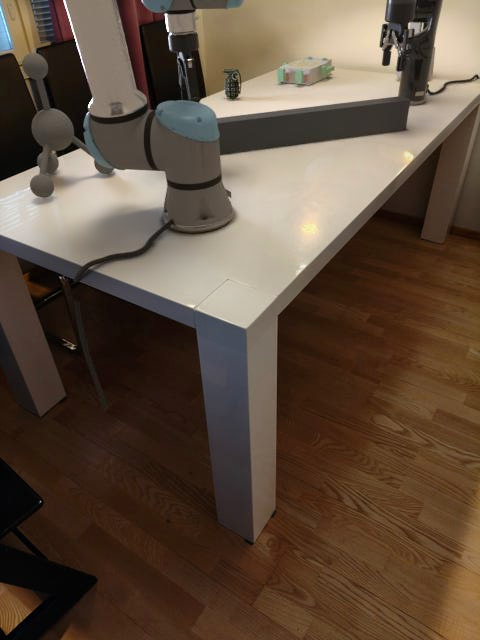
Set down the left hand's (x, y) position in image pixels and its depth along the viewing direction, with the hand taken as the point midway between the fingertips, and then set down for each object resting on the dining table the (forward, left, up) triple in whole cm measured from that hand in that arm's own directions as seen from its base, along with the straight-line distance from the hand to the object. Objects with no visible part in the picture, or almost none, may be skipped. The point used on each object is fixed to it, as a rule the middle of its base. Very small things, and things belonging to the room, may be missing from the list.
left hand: (192, 120), depth 134 cm
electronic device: (+106, -37, -9) cm, 112 cm away
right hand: (+39, -44, +8) cm, 59 cm away
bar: (+19, -22, -9) cm, 31 cm away
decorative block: (+96, +6, -9) cm, 96 cm away
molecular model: (-28, +20, -9) cm, 36 cm away
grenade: (+58, +20, -9) cm, 62 cm away
